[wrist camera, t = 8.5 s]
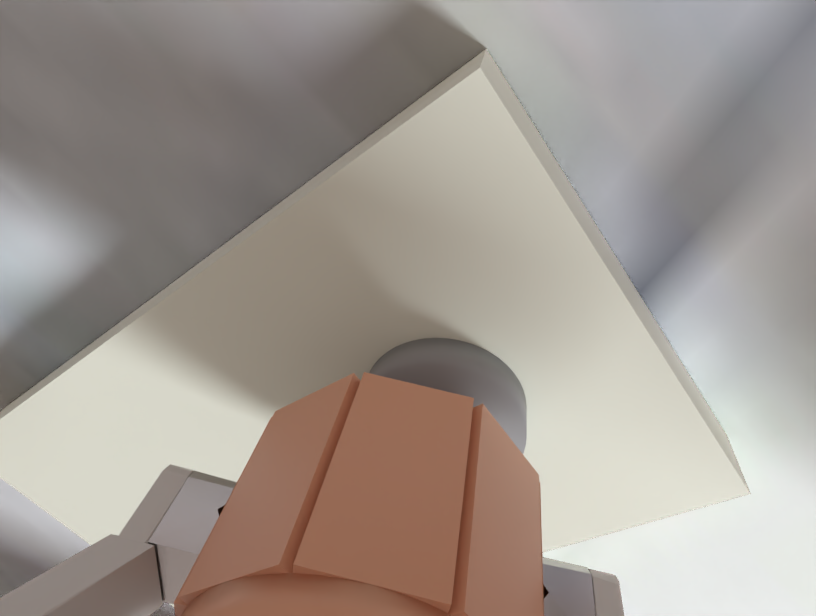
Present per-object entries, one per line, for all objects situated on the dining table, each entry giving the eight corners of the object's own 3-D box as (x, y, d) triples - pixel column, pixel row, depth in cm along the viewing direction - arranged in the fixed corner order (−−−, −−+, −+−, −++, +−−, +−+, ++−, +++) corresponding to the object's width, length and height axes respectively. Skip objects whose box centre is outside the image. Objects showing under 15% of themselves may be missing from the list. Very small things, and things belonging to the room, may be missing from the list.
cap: (581, 527, 12) (607, 816, 8) (373, 585, 15) (316, 829, 11) (429, 335, 10) (368, 593, 6) (218, 438, 13) (76, 672, 9)
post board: (242, 595, 25) (138, 838, 18) (5, 406, 20) (-243, 633, 14) (727, 435, 16) (872, 795, 9) (486, 48, 12) (436, 197, 5)
